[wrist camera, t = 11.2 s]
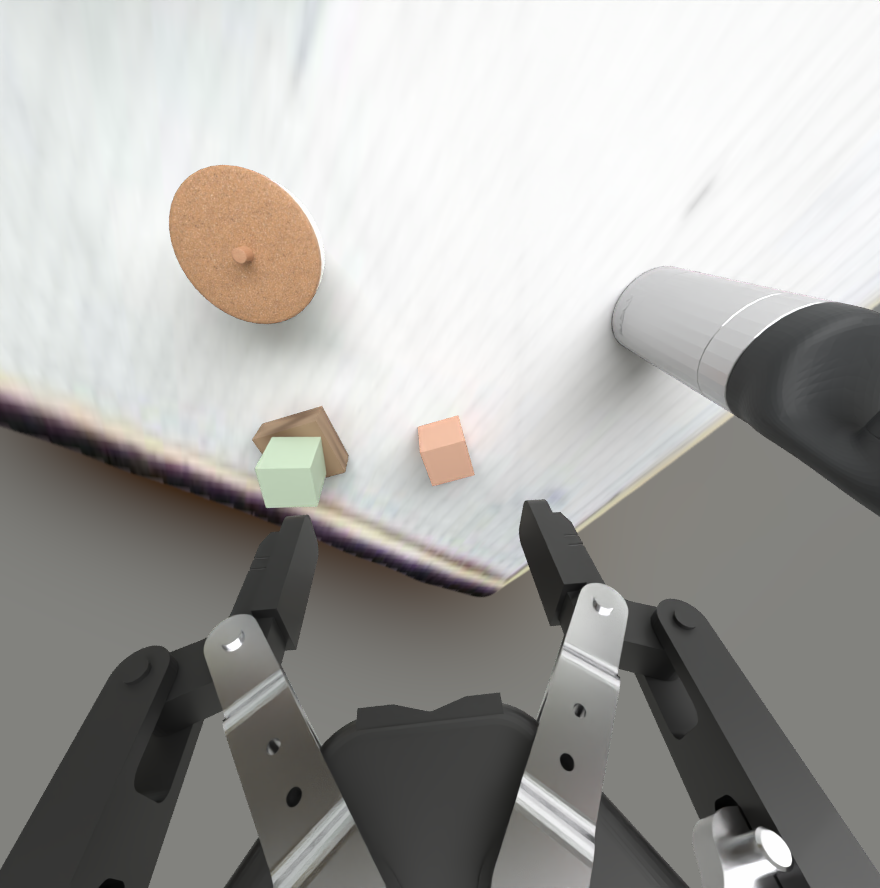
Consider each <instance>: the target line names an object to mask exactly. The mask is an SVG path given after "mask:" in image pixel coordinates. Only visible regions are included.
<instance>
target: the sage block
mask: <svg viewBox="0 0 880 888" xmlns="http://www.w3.org/2000/svg"><path fill="white" fill-rule="evenodd" d="M255 472H256V475H257V478H258V482H259V485H260V488H261V492H262V495H263V498H264V502H265V505H266V508H279V507H317V506H318V503H319V499H320V495H321V491H322V488H323V484H324V480H325V477H326V467H325V461H324V454H323V448H322V441H321V437H272V438H271V440H270V442H269V444H268V445H267V447H266V449H265V451H264V453H263V454H262V456H261V458H260V460H259V462H258V464H257V465H256V467H255Z"/></svg>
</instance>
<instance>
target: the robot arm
mask: <svg viewBox="0 0 880 888" xmlns="http://www.w3.org/2000/svg"><path fill="white" fill-rule="evenodd" d="M612 328H613V332H614V336H615V337H616V339H617V340H618V342H619V343H620V344H621V345H623V346H624V347H626V348H627V349H629V350H630V351H632V352H634V353H635V354H637V355H639V356H640V357H641V358H643V359H645V360H646V361H648V362H649V363H651V364H653V365H654V366H656V367H658V368H659V369H661V370H662V371H664V372H666V373H667V374H669V375H670V376H672V377H674V378H675V379H677V380H679V381H680V382H682V383H683V384H685V385H687V386H688V387H690V388H691V389H693V390H695V391H696V392H698V393H699V394H701V395H703V396H704V397H706V398H708V399H709V400H711V401H713V402H714V403H716V404H718V405H719V406H721V407H722V408H724V409H726V410H727V411H729V412H730V413H732V414H734V415H735V416H737V417H738V418H740V419H742V420H743V421H745V422H746V423H748V424H749V425H750V426H752V427H753V428H754V429H755V430H756V431H757V432H759V433H760V434H762V435H763V436H764V437H766V438H767V439H769V440H771V441H772V442H774V443H775V444H777V445H778V446H780V447H781V448H783V449H784V450H786V451H788V452H789V453H791V454H792V455H794V456H795V457H796V458H798V459H799V460H801V461H802V462H804V463H805V464H806V465H808V466H809V467H811V468H812V469H813V470H815V471H816V472H818V473H819V474H820V475H822V476H823V477H824V478H826V479H827V480H828V481H830V482H831V483H833V484H834V485H836V486H837V487H838V488H839V489H841V490H842V491H844V492H845V493H847V494H848V495H849V496H850V497H852V498H853V499H855V500H856V501H858V502H859V503H860V504H862V505H864V506H865V507H866V508H868V509H869V510H871V511H872V512H874V513H875V514H877V515H878V516H880V313H878V312H875V311H873V310H869V309H866V308H862V307H858V306H853V305H848V304H844V303H839V302H834V301H830V300H825V299H821V298H816V297H811V296H807V295H802V294H796V293H792V292H787V291H782V290H778V289H773V288H769V287H764V286H759V285H755V284H750V283H746V282H741V281H736V280H732V279H727V278H723V277H718V276H713V275H709V274H704V273H700V272H696V271H691V270H686V269H682V268H677V267H672V266H662V267H658V268H654V269H651V270H649V271H647V272H645V273H643V274H642V275H640V276H639V277H638V278H636V279H635V280H634V281H633V282H632V283H631V284H630V285H629V286H628V287H627V288H626V289H625V291H624V292H623V293H622V295H621V296H620V298H619V300H618V302H617V304H616V307H615V310H614V313H613V319H612ZM519 537H520V542H521V546H522V548H523V551H524V554H525V557H526V559H527V562H528V565H529V568H530V571H531V573H532V576H533V579H534V582H535V585H536V587H537V590H538V593H539V596H540V598H541V601H542V604H543V607H544V610H545V613H546V615H547V618H548V621H549V624H550V626H556V625H561V627H562V630H563V633H564V637H563V639H562V642H561V645H560V649H559V652H558V655H557V658H556V661H555V664H554V667H553V670H552V673H551V677H550V679H549V683H548V686H547V689H546V692H545V695H544V697H543V700H542V703H541V706H540V709H539V712H538V715H537V718H536V720H535V719H534V718H533V717H531V716H530V715H528V714H527V713H525V712H524V711H522V710H520V709H518V708H516V707H513V706H511V705H508V704H504V703H502V702H501V697H500V693H493V694H483V695H474V696H466V697H463V698H461V699H459V700H457V701H454V702H452V703H450V704H447V705H445V706H443V707H441V708H438V709H436V710H434V711H430V712H429V711H423V710H418V709H413V708H408V707H403V706H398V705H384V706H375V707H366V708H358V710H357V720H355V721H352V722H350V723H349V724H347V725H345V726H344V727H342V728H341V729H339V730H338V731H337V732H335V733H334V734H333V735H332V736H331V737H330V738H329V739H328V740H327V741H326V742H325V743H324V744H323V745H321V743H320V741H319V739H318V737H317V735H316V733H315V731H314V729H313V727H312V726H311V724H310V722H309V720H308V718H307V716H306V714H305V712H304V710H303V708H302V706H301V704H300V702H299V700H298V698H297V696H296V694H295V692H294V690H293V688H292V686H291V684H290V682H289V680H288V678H287V676H286V674H285V672H284V670H283V668H282V666H281V663H282V659H283V655H284V651H285V650H296V647H297V644H298V639H299V635H300V630H301V627H302V623H303V618H304V614H305V610H306V606H307V602H308V597H309V593H310V588H311V585H312V580H313V576H314V572H315V567H316V563H317V559H318V543H317V539H316V536H315V533H314V529H313V526H312V523H311V519H310V517H309V515H300V516H287V517H285V519H284V521H283V524H282V526H281V529H280V532H271V533H270V534H269V535H268V536H267V537H266V538H265V539H264V540H263V541H262V543H261V544H260V545H259V548H258V550H257V552H256V555H255V557H254V560H253V562H252V564H251V567H250V571H249V572H248V574H247V576H246V579H245V581H244V583H243V586H242V588H241V591H240V593H239V595H238V598H237V600H236V603H235V605H234V607H233V610H232V612H231V614H230V616H229V618H228V619H225V620H224V621H222V622H221V623H220V624H218V625H217V626H216V627H215V628H214V629H213V630H212V631H211V633H210V634H209V636H208V637H207V638H205V639H203V640H201V641H198V642H196V643H193V644H190V645H188V646H185V647H183V648H180V649H178V650H175V651H172V652H169V651H168V650H167V649H166V648H164V647H162V646H149V647H146V648H143V649H141V650H139V651H137V652H135V653H133V654H132V655H130V656H129V657H127V658H126V659H125V660H124V661H122V662H121V663H120V664H119V665H118V667H116V669H115V670H114V671H113V672H112V674H111V675H110V677H109V678H108V680H107V682H106V684H105V686H104V687H103V689H102V691H101V693H100V694H99V696H98V698H97V700H96V702H95V703H94V705H93V707H92V709H91V710H90V712H89V714H88V716H87V717H86V719H85V721H84V723H83V725H82V726H81V728H80V730H79V732H78V733H77V735H76V737H75V739H74V740H73V742H72V744H71V746H70V747H69V749H68V751H67V753H66V755H65V756H64V758H63V760H62V762H61V763H60V765H59V767H58V769H57V770H56V772H55V774H54V776H53V778H52V779H51V781H50V783H49V785H48V786H47V788H46V790H45V792H44V793H43V795H42V797H41V799H40V801H39V802H38V804H37V806H36V808H35V809H34V811H33V813H32V815H31V816H30V819H29V820H28V822H27V824H26V825H25V827H24V829H23V831H22V832H21V834H20V836H19V838H18V840H17V841H16V843H15V845H14V847H13V848H12V850H11V852H10V854H9V855H8V857H7V859H6V861H5V862H4V864H3V866H2V868H1V870H0V888H148V886H149V883H150V880H151V877H152V874H153V871H154V868H155V865H156V862H157V859H158V856H159V853H160V850H161V847H162V844H163V841H164V838H165V835H166V832H167V829H168V826H169V823H170V820H171V817H172V814H173V811H174V808H175V805H176V802H177V799H178V796H179V793H180V790H181V787H182V784H183V781H184V778H185V775H186V772H187V769H188V766H189V763H190V760H191V757H192V754H193V751H194V748H195V745H196V742H197V739H198V736H199V733H200V730H201V727H202V724H203V721H204V719H205V718H208V717H210V716H212V715H214V714H216V713H218V712H221V711H223V712H224V716H225V719H224V720H223V728H224V732H225V735H226V738H227V741H228V744H229V748H230V751H231V754H232V757H233V760H234V763H235V766H236V769H237V772H238V775H239V778H240V781H241V784H242V787H243V790H244V793H245V797H246V800H247V803H248V805H249V809H250V812H251V815H252V818H253V821H254V824H255V827H256V830H257V833H258V836H259V837H258V839H257V840H256V842H255V843H254V845H253V846H252V848H251V849H250V850H249V852H248V854H247V855H246V856H245V858H244V859H243V861H242V862H241V864H240V865H239V866H238V868H237V869H236V871H235V872H234V874H233V875H232V877H231V878H230V880H229V881H228V883H227V884H226V886H225V887H224V888H689V886H688V885H687V884H686V883H685V882H684V881H683V880H682V878H681V877H680V876H679V875H678V874H677V873H676V872H675V871H674V870H673V869H672V868H671V867H670V865H669V864H668V863H667V862H666V861H665V860H664V859H663V858H662V857H661V856H660V854H659V853H658V852H657V851H656V850H655V849H654V848H653V847H652V846H651V845H650V843H649V842H648V841H647V840H646V839H645V838H644V837H643V836H642V835H641V834H640V832H639V831H637V829H636V828H635V827H634V826H633V825H632V824H631V823H630V821H629V820H628V819H627V818H626V817H625V816H624V815H623V814H622V813H621V812H620V811H619V810H618V808H617V807H616V806H615V805H614V804H613V803H612V802H611V801H610V800H609V799H608V798H607V797H606V795H605V794H604V793H603V792H602V787H603V781H604V775H605V770H606V764H607V758H608V752H609V746H610V741H611V735H612V728H613V723H614V717H615V712H616V706H617V700H618V694H619V688H620V677H619V676H618V669H622V670H626V671H630V672H633V673H635V675H636V677H637V680H638V682H639V684H640V686H641V689H642V691H643V693H644V695H645V698H646V700H647V702H648V704H649V707H650V709H651V711H652V713H653V716H654V718H655V720H656V722H657V724H658V727H659V729H660V731H661V733H662V736H663V738H664V740H665V742H666V745H667V747H668V749H669V751H670V754H671V756H672V758H673V760H674V762H675V765H676V767H677V769H678V771H679V773H680V776H681V778H682V780H683V783H684V785H685V787H686V789H687V792H688V793H689V796H690V798H691V800H692V803H693V805H694V807H695V810H696V812H697V814H698V816H699V818H700V820H699V821H698V822H697V823H696V825H695V827H694V830H693V837H692V842H693V849H694V854H695V857H696V860H697V863H698V866H699V870H700V874H701V881H702V888H880V874H879V872H878V871H877V869H876V868H875V867H874V865H873V864H872V862H871V861H870V859H869V858H868V856H867V855H866V853H865V852H864V850H863V849H862V847H861V846H860V844H859V843H858V841H857V840H856V838H855V837H854V836H853V834H852V833H851V831H850V830H849V828H848V827H847V825H846V824H845V822H844V821H843V819H842V818H841V816H840V815H839V814H838V812H837V811H836V809H835V808H834V806H833V805H832V803H831V802H830V800H829V799H828V797H827V796H826V795H825V793H824V791H823V790H822V789H821V787H820V786H819V784H818V783H817V781H816V780H815V778H814V777H813V775H812V774H811V773H810V771H809V769H808V768H807V766H806V765H805V763H804V762H803V761H802V759H801V758H800V756H799V755H798V753H797V752H796V750H795V749H794V747H793V746H792V744H791V743H790V742H789V740H788V739H787V737H786V736H785V734H784V733H783V731H782V730H781V728H780V727H779V725H778V724H777V723H776V721H775V719H774V718H773V717H772V715H771V714H770V712H769V711H768V709H767V708H766V706H765V705H764V703H763V702H762V700H761V699H760V697H759V696H758V694H757V693H756V692H755V690H754V689H753V687H752V686H751V684H750V683H749V681H748V680H747V679H746V677H745V675H744V674H743V672H742V671H741V669H740V668H739V666H738V665H737V663H736V662H735V661H734V659H733V658H732V656H731V655H730V653H729V652H728V650H727V649H726V647H725V646H724V644H723V643H722V641H721V640H720V638H719V637H718V636H717V634H716V633H715V631H714V630H713V628H712V627H711V625H710V624H709V622H708V621H707V619H706V618H705V617H704V616H703V615H702V614H701V613H700V612H699V611H698V610H697V609H696V608H694V607H693V606H691V605H689V604H688V603H686V602H683V601H680V600H676V599H666V600H663V601H662V602H660V603H659V605H658V606H657V607H654V606H649V605H644V604H640V603H635V602H631V601H628V600H625V599H623V597H622V596H621V595H620V594H619V593H618V592H617V591H615V590H614V589H613V588H611V587H609V586H607V585H606V584H605V583H604V581H603V580H602V578H601V576H600V574H599V572H598V571H597V569H596V567H595V565H594V563H593V561H592V559H591V558H590V556H589V554H588V552H587V551H586V548H585V547H584V546H583V543H582V541H581V539H580V537H579V536H578V535H577V532H576V530H575V528H574V526H573V524H572V523H571V521H569V520H568V519H567V518H566V517H565V516H564V515H563V514H562V513H561V512H556V513H553V512H552V510H551V508H550V506H549V504H548V503H547V501H546V500H545V499H542V500H528V501H525V502H524V504H523V510H522V516H521V521H520V527H519Z"/></svg>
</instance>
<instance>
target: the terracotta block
mask: <svg viewBox="0 0 880 888" xmlns="http://www.w3.org/2000/svg"><path fill="white" fill-rule="evenodd" d="M418 434H419V447H420V454H421V457H422V460H423V462H424V465H425V467H426V470H427V473H428V475H429V478H430V481H431V483H432V486H436V485H439V484H443V483H447V482H451V481H454V480H458V479H462V478H465V477H469V476H473V475H475V474H474V471H473V467H472V464H471V460H470V456H469V453H468V449H467V446H466V442H465V438H464V435H463V431H462V428H461V424H460V420H459V417H458V416H454V417H451V418H447V419H444V420H440V421H437V422H433V423H430V424H426V425H422V426H419V427H418Z"/></svg>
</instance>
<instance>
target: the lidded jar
mask: <svg viewBox="0 0 880 888" xmlns="http://www.w3.org/2000/svg"><path fill="white" fill-rule="evenodd" d="M169 230H170V237H171V242H172V246H173V249H174V252H175V255H176V257H177V259H178V262H179V264H180V266H181V268H182V269H183V271H184V273H185V274H186V276H187V278H188V279H189V280H190V282H191V283H192V284H193V285H194V287H195V288H196V289H197V290H198V291H199V292H200V293H201V294H202V295H203V296H204V297H205V298H206V299H207V300H208V301H209V302H211V303H212V304H213V305H214V306H216V307H217V308H219V309H220V310H222V311H224V312H225V313H227V314H229V315H231V316H233V317H235V318H238V319H241V320H244V321H247V322H252V323H258V324H272V323H279V322H282V321H286V320H288V319H290V318H292V317H294V316H296V315H297V314H299V313H300V312H301V311H302V310H304V308H305V307H306V306H307V305H308V304H309V303H310V302H311V300H312V298H313V297H314V295H315V293H316V291H317V289H318V288H319V285H320V283H321V280H322V276H323V271H324V262H325V256H324V247H323V243H322V239H321V235H320V233H319V230H318V228H317V225H316V224H315V222H314V220H313V218H312V216H311V215H310V213H309V212H308V210H307V209H306V208H305V206H304V205H303V204H302V203H301V202H300V201H299V200H298V199H297V197H295V196H294V195H293V194H292V193H291V192H289V191H288V190H287V189H286V188H285V187H283V186H281V185H280V184H278V183H277V182H275V181H274V180H271V179H269V178H267V177H266V176H264V175H261V174H259V173H257V172H255V171H252V170H249V169H245V168H242V167H238V166H229V165H218V166H210V167H207V168H204V169H201V170H199V171H197V172H195V173H193V174H192V175H190V176H189V177H188V178H187V179H186V180H185V181H184V182H183V183H182V184H181V185H180V187H179V188H178V190H177V192H176V193H175V196H174V198H173V201H172V204H171V209H170V215H169Z"/></svg>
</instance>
